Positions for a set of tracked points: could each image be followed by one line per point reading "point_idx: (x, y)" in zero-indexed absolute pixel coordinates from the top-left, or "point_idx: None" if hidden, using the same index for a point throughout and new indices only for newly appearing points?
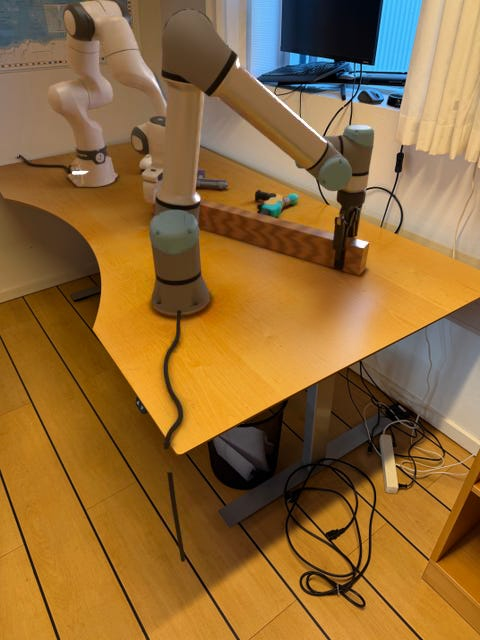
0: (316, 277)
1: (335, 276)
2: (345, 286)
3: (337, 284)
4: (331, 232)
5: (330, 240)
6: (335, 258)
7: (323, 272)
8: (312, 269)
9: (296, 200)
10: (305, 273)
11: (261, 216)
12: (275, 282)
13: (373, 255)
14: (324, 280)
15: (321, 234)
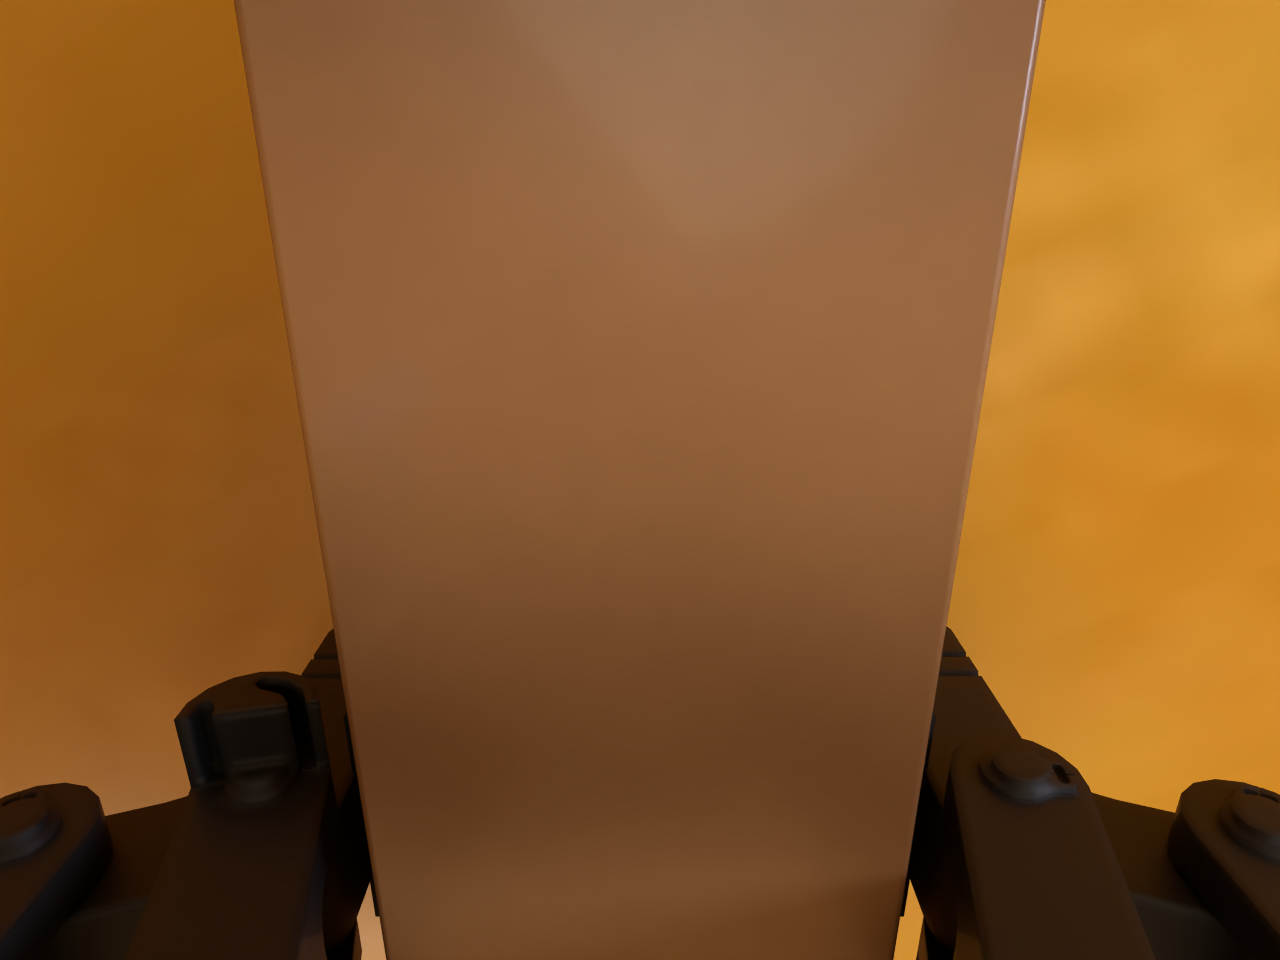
0: (74, 350)
1: (314, 573)
2: (184, 768)
3: (148, 677)
4: (972, 372)
5: (337, 596)
6: (329, 635)
7: (291, 374)
8: (245, 158)
9: None
10: (32, 114)
11: None
12: None
13: (1197, 759)
14: (98, 493)
15: (508, 38)
